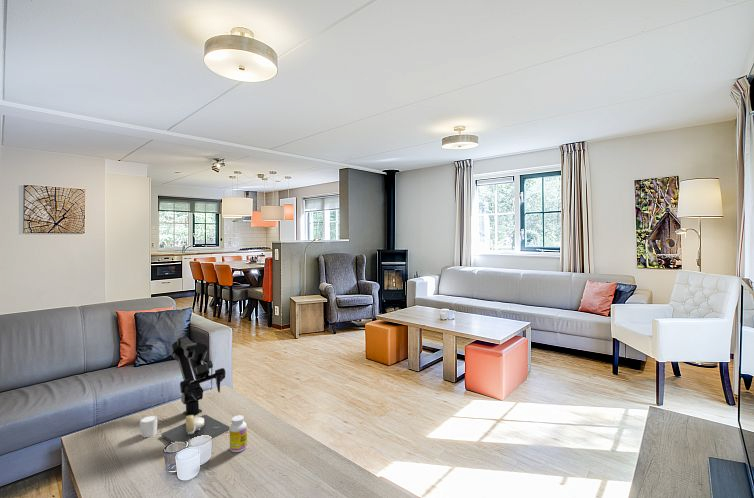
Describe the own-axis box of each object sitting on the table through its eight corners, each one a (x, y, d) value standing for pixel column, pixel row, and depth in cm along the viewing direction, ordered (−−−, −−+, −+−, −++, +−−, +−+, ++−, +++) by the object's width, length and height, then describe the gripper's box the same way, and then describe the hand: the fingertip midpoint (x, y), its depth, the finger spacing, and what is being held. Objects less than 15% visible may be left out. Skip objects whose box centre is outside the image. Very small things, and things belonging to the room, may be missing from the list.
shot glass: (161, 430, 166) (161, 415, 165) (151, 438, 159) (150, 423, 158) (147, 429, 166) (147, 414, 166) (136, 438, 159) (135, 422, 159)
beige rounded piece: (189, 422, 165) (189, 405, 165) (206, 420, 166) (205, 404, 166) (180, 437, 153) (179, 419, 153) (198, 435, 155) (197, 417, 154)
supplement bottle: (241, 454, 147) (240, 423, 146) (226, 452, 148) (225, 421, 147) (250, 444, 153) (249, 414, 153) (236, 442, 155) (235, 413, 154)
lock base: (161, 436, 160) (161, 429, 160) (205, 417, 176) (205, 410, 176) (184, 452, 149) (184, 444, 148) (229, 429, 165) (229, 423, 165)
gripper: (176, 364, 159) (185, 394, 151) (220, 350, 170) (231, 378, 162) (176, 378, 166) (185, 408, 157) (219, 364, 177) (229, 391, 168)
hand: (208, 396), depth 161 cm, fingers open, 9 cm apart
